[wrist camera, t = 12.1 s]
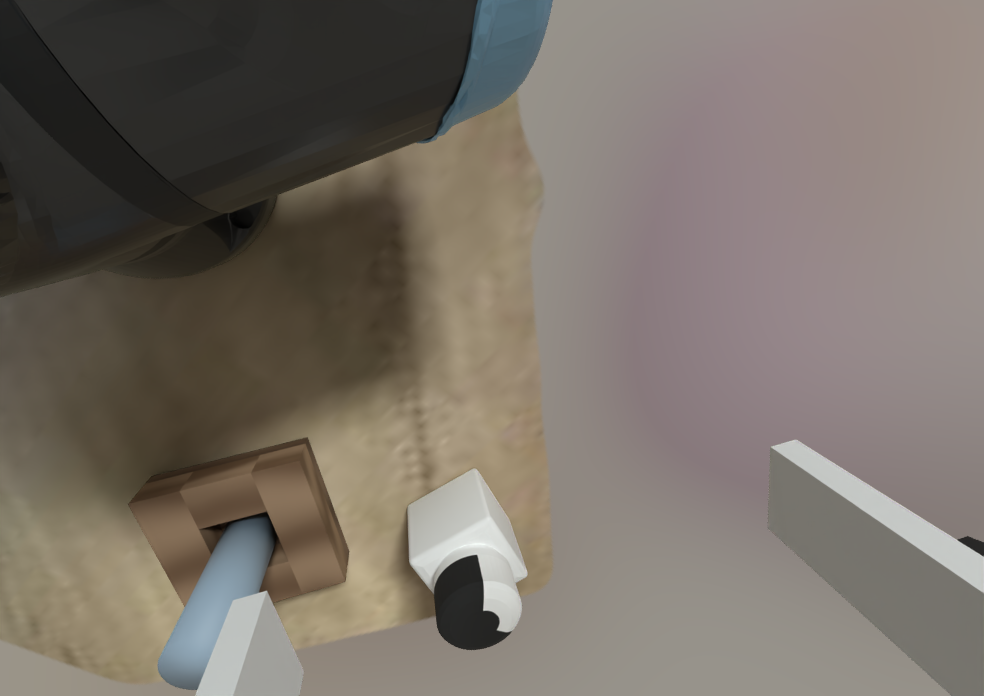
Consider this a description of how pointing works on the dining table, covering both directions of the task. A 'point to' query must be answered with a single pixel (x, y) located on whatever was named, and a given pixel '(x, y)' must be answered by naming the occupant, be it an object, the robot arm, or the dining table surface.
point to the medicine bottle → (467, 561)
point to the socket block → (240, 493)
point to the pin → (217, 597)
